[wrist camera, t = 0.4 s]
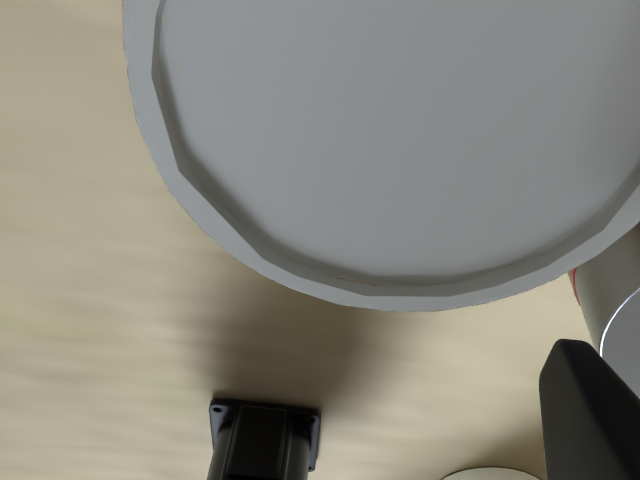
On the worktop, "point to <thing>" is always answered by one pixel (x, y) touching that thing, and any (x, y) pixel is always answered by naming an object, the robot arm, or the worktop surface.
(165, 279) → the worktop surface
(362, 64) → the disposable coffee cup
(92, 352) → the worktop surface
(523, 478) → the pill bottle
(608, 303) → the tin can
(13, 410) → the worktop surface
